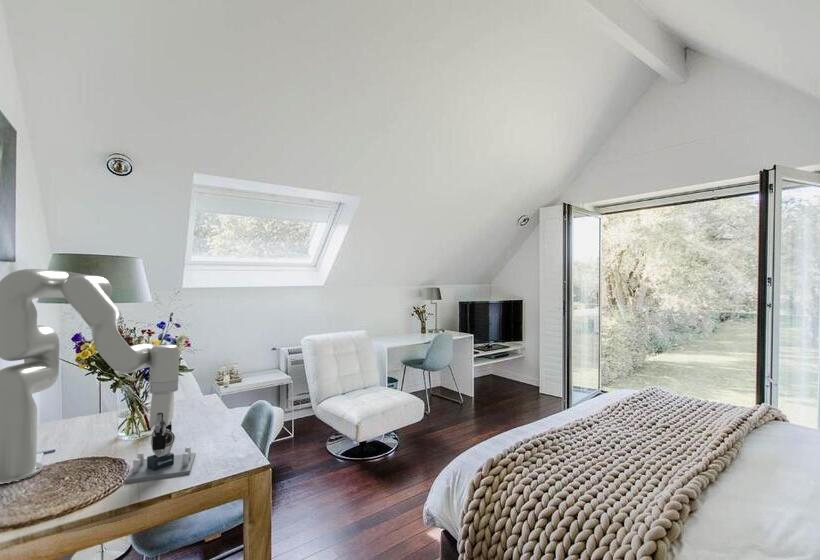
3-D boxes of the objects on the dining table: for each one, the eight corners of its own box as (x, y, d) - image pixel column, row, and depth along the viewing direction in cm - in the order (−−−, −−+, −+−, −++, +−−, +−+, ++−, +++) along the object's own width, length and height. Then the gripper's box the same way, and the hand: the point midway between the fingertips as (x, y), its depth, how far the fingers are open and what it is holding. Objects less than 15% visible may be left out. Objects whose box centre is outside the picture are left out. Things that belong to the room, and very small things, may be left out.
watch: (157, 472, 118) (158, 434, 118) (144, 466, 123) (144, 429, 123) (177, 465, 123) (178, 428, 123) (163, 459, 127) (164, 423, 128)
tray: (124, 483, 114) (125, 467, 114) (137, 463, 127) (137, 448, 127) (189, 474, 120) (190, 458, 120) (195, 455, 133) (195, 441, 133)
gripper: (155, 380, 130) (153, 435, 130) (142, 394, 114) (140, 456, 114) (182, 379, 133) (180, 432, 133) (173, 392, 117) (171, 452, 117)
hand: (162, 443), depth 123 cm, fingers open, 9 cm apart
